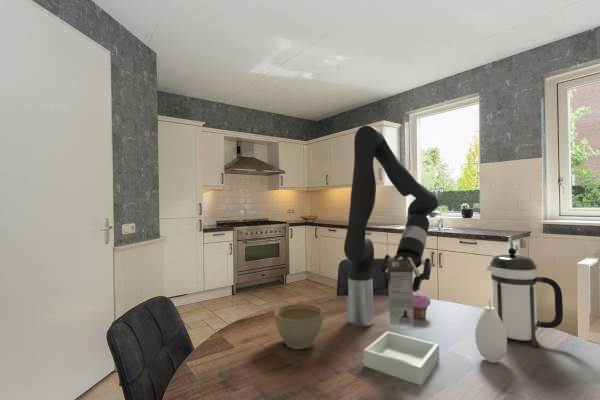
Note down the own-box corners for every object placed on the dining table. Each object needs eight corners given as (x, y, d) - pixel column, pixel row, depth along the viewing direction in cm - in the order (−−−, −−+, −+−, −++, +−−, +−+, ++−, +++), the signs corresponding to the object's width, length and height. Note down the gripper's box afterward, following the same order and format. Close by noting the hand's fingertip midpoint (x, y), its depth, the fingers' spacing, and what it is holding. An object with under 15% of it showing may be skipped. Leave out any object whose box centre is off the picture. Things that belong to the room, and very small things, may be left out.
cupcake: (406, 319, 122) (405, 294, 122) (407, 312, 130) (407, 288, 130) (431, 322, 118) (430, 296, 118) (431, 314, 126) (430, 290, 126)
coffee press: (519, 353, 93) (516, 253, 94) (478, 331, 109) (476, 246, 109) (565, 345, 97) (562, 250, 97) (519, 326, 113) (516, 243, 113)
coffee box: (388, 309, 95) (387, 258, 93) (410, 310, 93) (409, 258, 91) (390, 324, 86) (388, 269, 84) (414, 326, 84) (413, 269, 82)
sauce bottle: (509, 370, 84) (507, 304, 84) (476, 364, 88) (474, 300, 88) (506, 357, 91) (504, 296, 91) (475, 352, 95) (474, 293, 95)
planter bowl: (333, 341, 104) (332, 309, 104) (300, 360, 93) (299, 324, 93) (298, 329, 115) (297, 300, 115) (265, 344, 104) (264, 312, 104)
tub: (364, 365, 89) (363, 349, 89) (387, 344, 101) (387, 331, 101) (421, 385, 78) (420, 367, 78) (439, 359, 91) (438, 344, 91)
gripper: (387, 235, 101) (372, 277, 92) (432, 237, 92) (421, 284, 83) (394, 249, 105) (380, 291, 96) (438, 252, 96) (428, 299, 87)
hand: (399, 288), depth 90 cm, fingers closed on coffee box, 8 cm apart
